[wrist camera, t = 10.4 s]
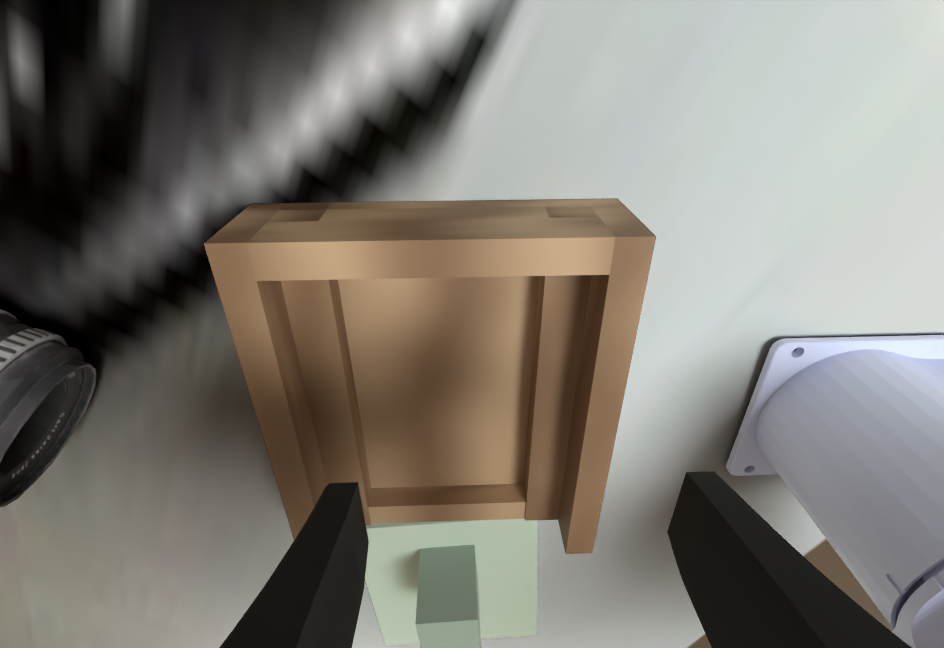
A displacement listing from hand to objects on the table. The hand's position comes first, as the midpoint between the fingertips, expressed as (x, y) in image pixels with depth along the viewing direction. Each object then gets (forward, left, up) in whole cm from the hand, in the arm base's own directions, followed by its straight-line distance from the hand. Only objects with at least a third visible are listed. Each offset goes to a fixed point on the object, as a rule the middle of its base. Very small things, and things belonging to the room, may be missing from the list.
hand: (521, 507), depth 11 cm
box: (+2, +4, -10) cm, 11 cm away
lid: (+2, +19, -10) cm, 22 cm away
